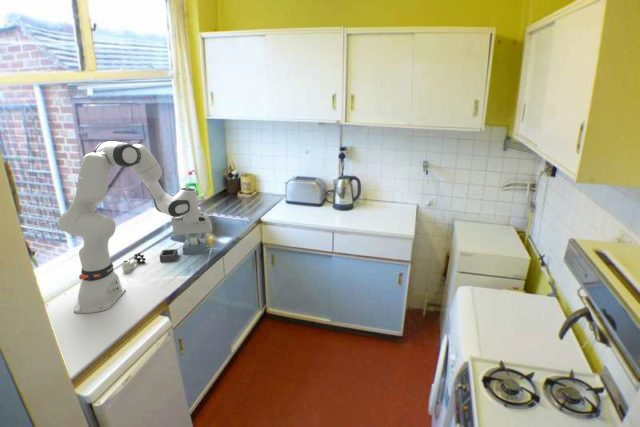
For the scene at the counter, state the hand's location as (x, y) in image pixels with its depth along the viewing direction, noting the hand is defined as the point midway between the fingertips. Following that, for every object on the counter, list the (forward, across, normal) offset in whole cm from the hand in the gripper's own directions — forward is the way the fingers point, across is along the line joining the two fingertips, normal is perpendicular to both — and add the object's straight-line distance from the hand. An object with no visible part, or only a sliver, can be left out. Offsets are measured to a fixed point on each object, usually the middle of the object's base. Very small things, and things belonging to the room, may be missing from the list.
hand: (194, 240), depth 213 cm
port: (+7, 0, 0) cm, 7 cm away
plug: (+5, 0, 0) cm, 5 cm away
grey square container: (+7, -12, -9) cm, 16 cm away
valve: (+7, -28, -16) cm, 33 cm away
